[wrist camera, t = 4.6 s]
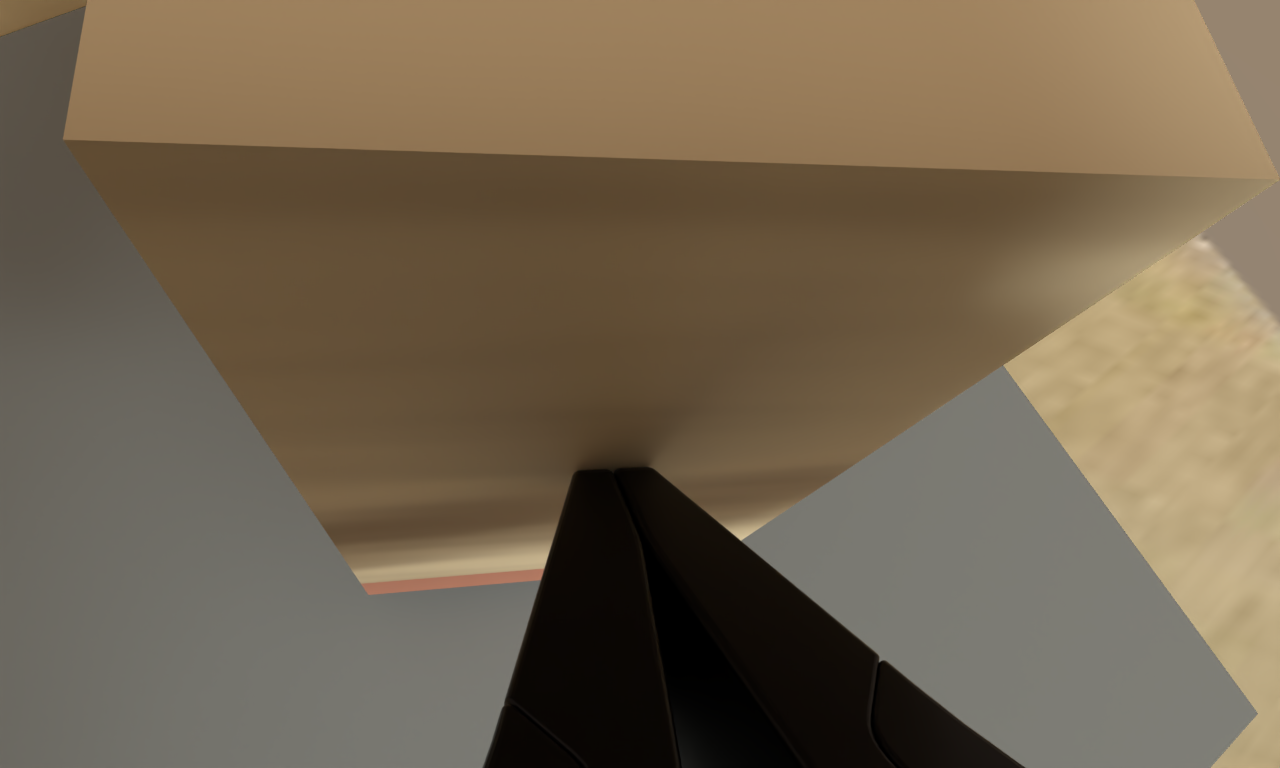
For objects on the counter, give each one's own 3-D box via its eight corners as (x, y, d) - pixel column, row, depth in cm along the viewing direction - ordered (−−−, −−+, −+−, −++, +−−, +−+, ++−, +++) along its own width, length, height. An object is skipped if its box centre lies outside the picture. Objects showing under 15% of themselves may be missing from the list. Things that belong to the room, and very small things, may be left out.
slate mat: (1233, 709, 19) (1258, 713, 18) (358, 1688, 12) (353, 1742, 11) (599, -160, 21) (603, -181, 20) (-445, 226, 14) (-483, 210, 13)
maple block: (702, 566, 15) (1280, 178, 5) (368, 595, 14) (64, 138, 3) (662, 285, 18) (989, -425, 7) (370, 286, 16) (192, -603, 5)
